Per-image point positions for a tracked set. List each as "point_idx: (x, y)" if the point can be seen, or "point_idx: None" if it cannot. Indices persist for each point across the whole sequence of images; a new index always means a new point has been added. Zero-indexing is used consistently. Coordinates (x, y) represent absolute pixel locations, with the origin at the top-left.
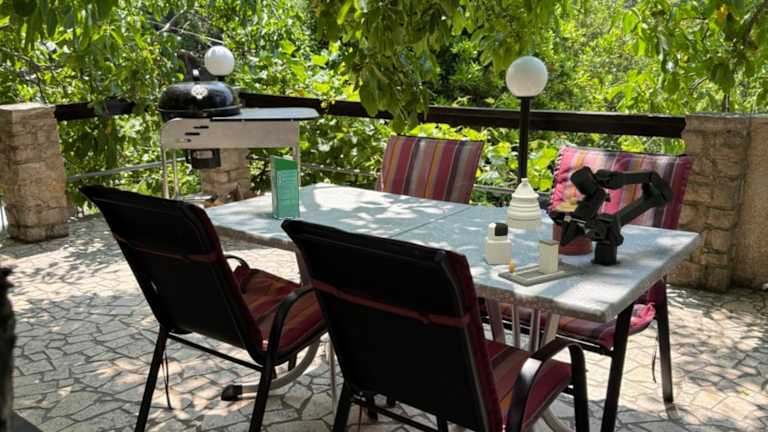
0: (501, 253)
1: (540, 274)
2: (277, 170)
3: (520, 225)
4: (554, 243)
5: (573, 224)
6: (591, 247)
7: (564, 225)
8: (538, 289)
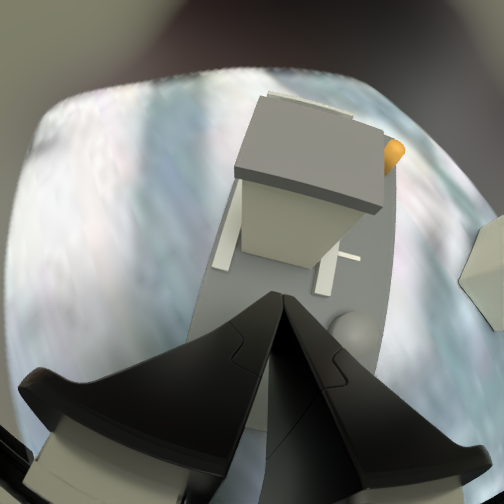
0: (493, 244)
1: None
2: None
3: None
4: (250, 125)
5: (133, 406)
6: None
7: (370, 412)
8: (219, 108)
